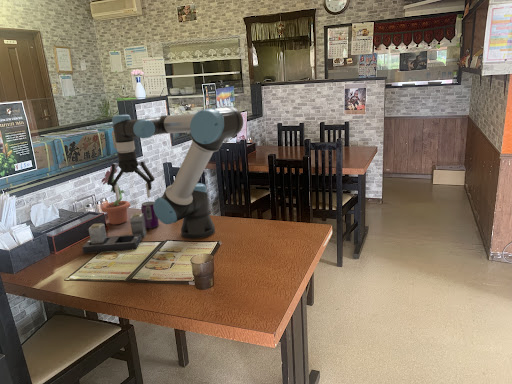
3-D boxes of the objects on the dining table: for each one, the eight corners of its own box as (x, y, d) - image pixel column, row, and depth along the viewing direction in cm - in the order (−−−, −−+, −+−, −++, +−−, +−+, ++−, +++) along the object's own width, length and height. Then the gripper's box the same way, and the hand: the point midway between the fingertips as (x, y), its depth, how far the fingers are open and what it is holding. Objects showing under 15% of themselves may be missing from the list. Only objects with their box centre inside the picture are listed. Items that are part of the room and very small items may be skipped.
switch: (141, 240, 174) (138, 217, 172) (136, 249, 165) (132, 225, 162) (91, 244, 174) (87, 221, 171) (83, 253, 164) (78, 230, 161)
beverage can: (162, 225, 192) (158, 201, 189) (151, 230, 186) (147, 206, 183) (151, 223, 196) (148, 200, 192) (141, 228, 190) (137, 204, 187)
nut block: (146, 233, 182) (143, 211, 179) (144, 237, 177) (140, 215, 174) (135, 234, 182) (132, 212, 179) (133, 238, 177) (129, 216, 174)
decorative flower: (113, 217, 210) (103, 162, 202) (137, 216, 208) (128, 161, 200) (99, 227, 195) (88, 168, 187) (125, 226, 194) (115, 167, 186)
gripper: (157, 147, 173) (163, 193, 179) (100, 152, 172) (108, 198, 178) (153, 150, 166) (160, 198, 172) (94, 154, 165) (102, 202, 171)
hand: (133, 198), depth 175 cm, fingers open, 13 cm apart
